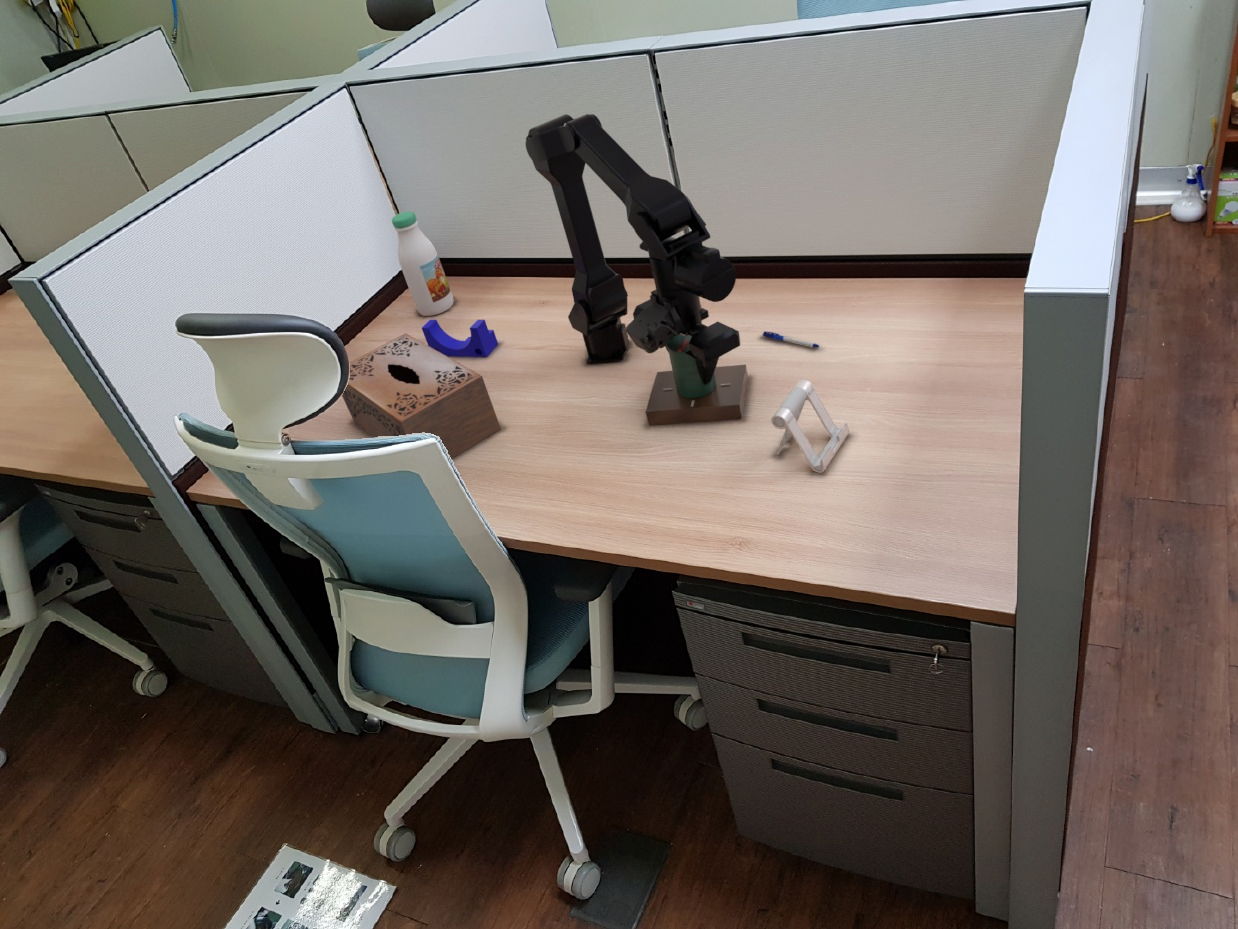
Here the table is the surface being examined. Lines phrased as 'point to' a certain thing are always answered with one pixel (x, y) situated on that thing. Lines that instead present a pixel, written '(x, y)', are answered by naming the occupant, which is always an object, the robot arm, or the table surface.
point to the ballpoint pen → (788, 339)
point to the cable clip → (471, 347)
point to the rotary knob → (687, 369)
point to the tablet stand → (788, 420)
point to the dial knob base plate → (698, 399)
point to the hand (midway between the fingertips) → (694, 376)
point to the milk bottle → (421, 267)
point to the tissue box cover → (419, 395)
